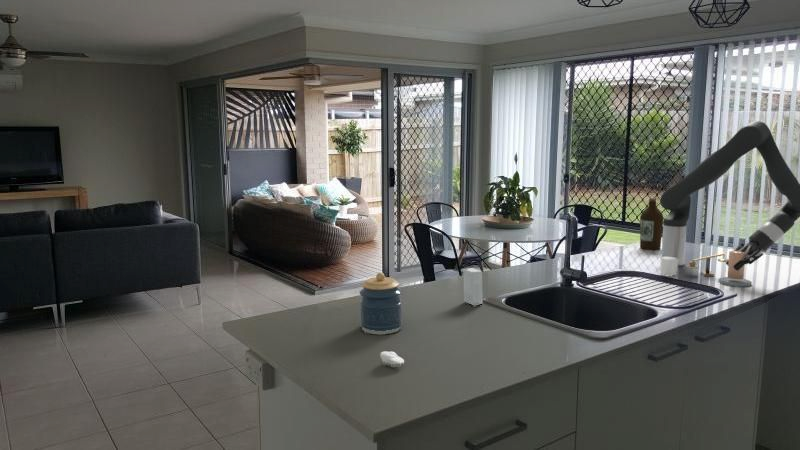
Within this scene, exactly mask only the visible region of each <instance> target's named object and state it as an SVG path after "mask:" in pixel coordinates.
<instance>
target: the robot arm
mask: <svg viewBox="0 0 800 450" xmlns="http://www.w3.org/2000/svg"><path fill="white" fill-rule="evenodd" d="M755 148H756V150H757V151H758V152H759V154H760V156H761V157H762V159H763V161H764V164H765V167H766V171H767V173H768V176H769V178H770V180H771V182H772V183H773V185H774V186H775V187H776V190H777V191H778V192H779V193H780V194H781V195H783V196H784V197H786V198H787V200H788V201H787V202H786V203H785V204H784V205H783V206H782V207H781V208H780V210H779V211H778V212H777V213H776V214H775V215H774V216H772V217H771V218H770V219H769V220H768V221H767V222H765V223H764V224H762V225H761V226H760V227H759V228H758V229H757V230H755V231H754V232H753V233H752V234H751V235H749V237H748V241H749V242H747V243H745V244H744V243H742V242H741V243H740V244H739V245H737V247H736V249H733V251H742V252H745V253H744V256H743V258H742V259H741V260H742V261H741V260H740V261H738V262H737V263H736V264H735V265H734V266H733V268H734V269H735V270H737V271H738V270H739V269H740V268H742V267H743V266H744V265H745V266H746V265H748V264H749V265H752V264H753V263H755V261H758V259H760V258H761V257H763V256H764V253H763V252H766V251H768V250H769V249H770V248H772V246H774V244H775V243H777V242H778V241H779V240H780V239H781V238H782V237H784V235H785V234H786V233H787V232H788V231H789V230H791V229H792V228H793V226H794V225H795V222H796V221H797V220H798V219H799V218H800V183H799V180H798V179H797V178H796V176H795V174H794V173H793V171H792V170H791V169H790V167H789V166H788V164H787V162H786V161H785V159H784V157H783V156H782V153H781V152H780V150H779V148H778V145H777V143H776V142H775V139H774V137H773V134H772V132H771V129H770V128H769V126H768V125H767V124H766V122H765V123H764V122H763V121H761V120H760V121H759V120H755V121H751V122H749V123H747V124H746V125H744V126H742V127H741V128H739V130H737V132H736V133H735V134H734V135H733V136H732V138H730V139H729V141H727V142H726V143H725V144H724V145H723V146H721V148H719V149H717V150H715V151H714V152H713V153H711V154H710V155H709V156H707V157H706V158H705V159H704V160H702V161H701V162H700V163H699V164H698V165H697V166H695V168H693V169H692V170H691V171H690V172H688V174H686V175H685V176H684V177H683V178H682V179H681V180H679V181H678V182H677V183H675V184H673V185H672V186H671V187H669V188H668V189H666V190H665V191H664V192H663V193H662V194H661V195H660V196H661V197H660V200H659V201H660V206H661V208H663V209H664V210H666V211H669V213H668V215H667V216H665V217H663V227H662V238H661V257H664V256H670V257H676V258H678V259H679V260H678V266H684V264H685V257H686V256H685V253H686V239H687V237H686V236H687V224H688V220H689V218H690V210H691V203H692V202H691V201H692V200H691V199H692V198H691V195H692V194H694V193H695V192H698V191H700V190H702V189H704V188H706V187H707V186H710V185H712V184H713V183H714V182H716V181H717V180H719V179H720V178H721V177H722V176H723V175H724V174H726V173H727V172H728V171H729V169H731V168H732V166H733V165H734V164H735V163H736V162H737V161H738V160H739V159H740V158H741V157H743V156H744V155H746V154H748V153H749V152H751V151H752V150H754V149H755ZM728 263H729V260H728V261H727V262H725V264H726V266H728Z"/></svg>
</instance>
